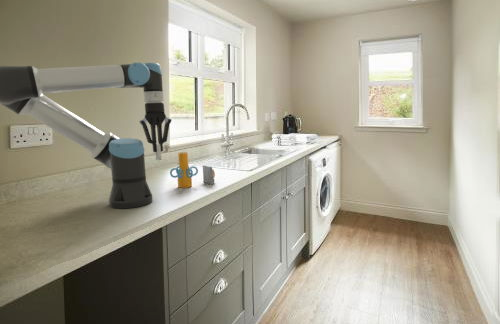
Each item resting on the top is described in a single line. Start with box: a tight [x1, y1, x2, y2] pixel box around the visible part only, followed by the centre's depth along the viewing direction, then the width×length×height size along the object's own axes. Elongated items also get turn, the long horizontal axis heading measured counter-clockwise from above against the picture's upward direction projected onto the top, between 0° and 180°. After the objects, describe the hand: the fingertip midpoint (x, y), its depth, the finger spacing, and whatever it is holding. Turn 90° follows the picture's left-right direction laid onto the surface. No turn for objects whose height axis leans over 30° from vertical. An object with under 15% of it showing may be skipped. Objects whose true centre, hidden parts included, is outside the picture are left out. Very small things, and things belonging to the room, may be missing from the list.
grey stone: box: [202, 164, 216, 186], centre depth 159 cm, size 3×8×8 cm, turn 31°
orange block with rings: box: [169, 151, 199, 189], centre depth 153 cm, size 12×10×15 cm
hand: (158, 159), depth 146 cm, fingers closed
